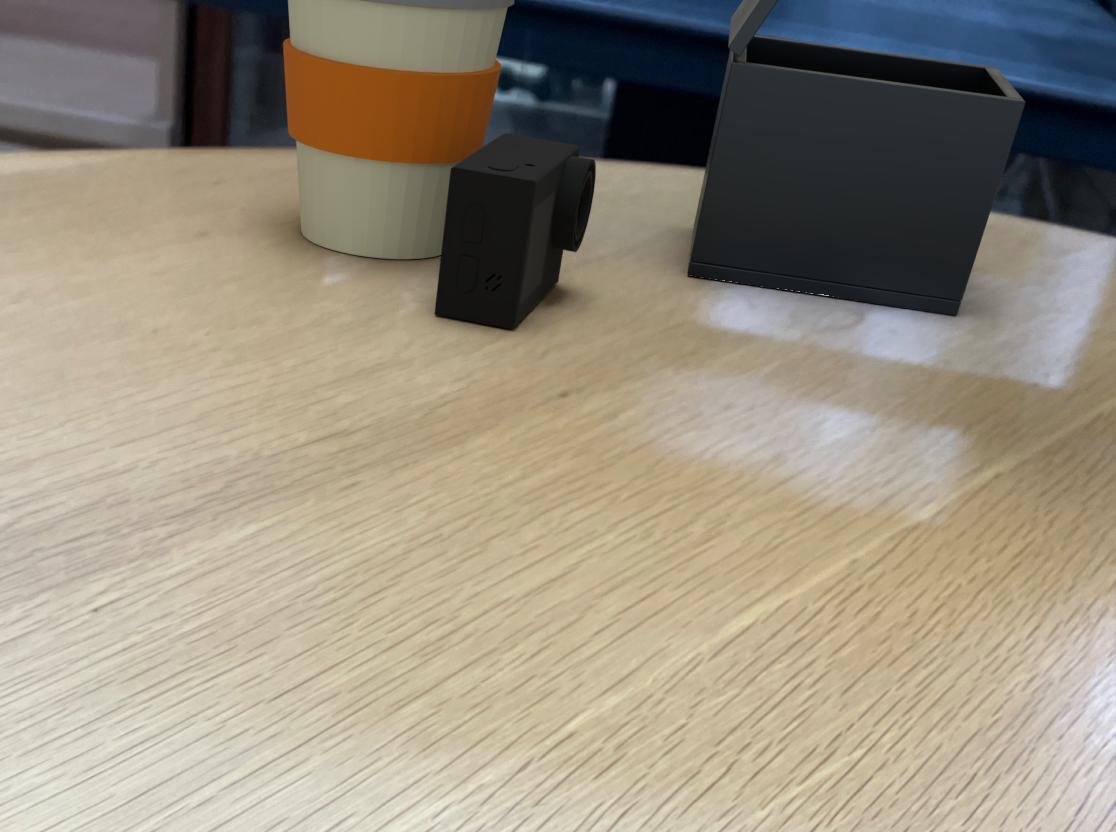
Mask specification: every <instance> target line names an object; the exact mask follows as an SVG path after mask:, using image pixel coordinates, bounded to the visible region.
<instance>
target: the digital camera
mask: <svg viewBox="0 0 1116 832" xmlns="http://www.w3.org/2000/svg"><path fill="white" fill-rule="evenodd" d="M579 154H580V146H579V144H572V143H568V142H567V143H566V142H560V141H554V140H548V139H542V138H536V137H530V136H523V135H520V134H513V133H503V134H500V135H499V136H498V137H496V138H494V139H492V140H491V141H489V142H488V143H486V144H484V145H483V147H482V148H480V149H479V150H477V151H476V152H474V153H473V154H471V155H470V156H468V157H467V158H465V159H464V160H462V161H461V162H459V163H458V164H457V165H455V166H454V167H452V168H451V172H450V180H449V188H448V197H447V206H446V215H445V224H444V233H443V242H442V251H441V255H440V260H439V261H440V262H439V270H438V278H437V289H436V297H435V307H434V315H435V316H439V317H440V316H441V317H445V318H446V317H447V318H451V319H452V318H453V319H457V320H462V321H467V322H473V323H477V324H478V323H479V324H481V325H482V324H484V325H488V326H493V327H498V328H504V329H508V330H509V329H510V330H512V329H514V328H515V327H516V326H517V325H518V324H519V323H521V322H522V321H523V320H524V319H525V317H526V316H528V314H529V313H530V312H531V311H532V310H533V309H534V308H535V307H536V306H537V305H538V304H539V303H540V302H541V300H542V299H543V298H544V297H546V296H547V294H548V293H549V292H550V291H551V290H552V289H553V288H554V287H555V286H556V285H557V284H558V283H559V280H560V274H561V267H562V262H563V255H564V251H567V252H572V253H577V252H578V251H579V249H580V247H581V245H582V242H583V239H584V238H585V235H586V234H585V233H586V231H587V227H588V224H589V219H590V215H591V211H592V205H593V199H594V194H595V187H596V177H597V171H596V170H597V165H596V161H595V159H594V158H589V157H587V158H586V157H581V156H580V155H579ZM579 156H580V157H579Z"/></svg>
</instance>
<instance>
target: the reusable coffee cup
mask: <svg viewBox="0 0 1116 832" xmlns="http://www.w3.org/2000/svg"><path fill="white" fill-rule="evenodd" d="M513 5H515V0H287V6H288V23H289V37H288V38H286V39H284V41H283V42H282V48H283V49H282V51H283V65H284V66H283V67H284V83H285V101H286V116H287V117H286V119H287V132H288V134H289V136H290V137H291V138H292V139H293V140H295V146H296V163H297V164H296V165H297V181H298V198H299V199H298V200H299V214H300V216H299V217H300V231H301V234H302V236H303V237H304V238H305V239H306V240H307V241H309V242H311V243H313V244H315V245H317V246H320V247H323V248H325V249H328V250H332V251H335V252H339V253H343V254H347V255H353V256H358V257H359V256H360V257H364V258H365V257H367V258H375V259H389V260H420V259H428V258H435V257H438V256H441V251H442V242H443V233H444V224H445V215H446V206H447V197H448V188H449V180H450V172H451V168H452V167H454V166H455V165H457V164H458V163H459V162H461V161H462V160H464V159H465V158H467V157H468V156H470V155H471V154H473V153H474V152H476V151H477V150H479V149H480V148H482V147H483V146H484V145H485V139H486V136H487V132H488V127H489V122H490V119H491V113H492V109H493V105H494V101H495V97H496V91H497V88H498V83H499V79H500V76H501V71H502V63H501V62H499V61H498V60H497V55H498V54H497V53H498V51H499V46H500V42H501V37H502V33H503V30H504V29H503V28H504V24H505V21H506V17H507V16H506V15H507V11H508V8H509V7H511V6H513Z"/></svg>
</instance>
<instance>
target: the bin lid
mask: <svg viewBox="0 0 1116 832" xmlns="http://www.w3.org/2000/svg"><path fill="white" fill-rule="evenodd" d="M778 2H779V0H742V2H741V3H740V4H739V5H738V7H737V9H736V11H734V13H733V15H732V16H731V18H730V24H729V36H728V45H727V48H728V49H729V51H730V50H731V51H733V52H734V53H735V54H736V55H737V56H739V57H740V56H741V54H742V53H743V51H744V50H745V48H746V47H747V45H748V44H749V42H750V41H751V40H752V38H753V37H754V35H756V34H757V32H758V31H759V30H760V28H761V27H762V25H763V23H764V22H765V21H766V19H767V18H768V16H769V15H770V13H771V12H772V10H773V9H774V8H775V6H776V4H777V3H778Z"/></svg>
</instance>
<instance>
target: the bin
mask: <svg viewBox="0 0 1116 832" xmlns="http://www.w3.org/2000/svg"><path fill="white" fill-rule="evenodd" d="M723 78H724V79H723V83H722V87H721V93H720V97H719V101H718V106H717V111H716V116H715V122H714V126H713V131H712V136H711V139H710V145H709V150H708V154H707V155H708V156H707V160H706V164H705V169H704V173H703V178H702V179H703V180H702V183H701V189H700V193H699V194H700V195H699V198H698V203H697V209H696V213H695V218H694V223H693V227H694V228H693V230H692V236H691V242H692V243H690V250H689V257H690V258H689V259H688V265H687V272H686V275H687V274H688V275H692V276H696V277H695V278H698V277H703V278H702V279H704V278H711V279H717V280H716V281H718V280H725V281H732V282H738V283H743V284H742V285H745V284H750V285H749V286H752V285H757V286H756V287H759V286H763V287H762V288H765V287H769V288H768V289H772V288H779V289H787V290H793V291H800V292H807V293H813V294H824V295H829V296H834V297H839V298H838V299H840V298H844V299H843V300H847V299H851V300H850V301H854V300H856V301H855V302H860V301H862V302H861V303H867V302H868V303H867V304H874V305H880V306H881V305H882V306H889V307H894V308H902V309H909V310H915V311H921V312H928V313H936V314H942V315H949V316H957V315H958V314H959V311H960V308H961V304H962V301H963V299H964V295H965V292H966V289H967V286H968V284H969V280H970V277H971V274H972V270H973V268H974V264H975V261H976V259H977V255H978V252H979V248H980V246H981V243H982V239H983V236H984V233H985V230H986V227H987V223H988V220H989V218H990V215H991V211H992V209H993V206H994V201H995V199H996V196H997V193H998V189H999V187H1000V183H1001V180H1002V177H1003V175H1004V171H1005V168H1006V165H1007V162H1008V158H1009V155H1010V152H1011V149H1012V145H1013V143H1014V140H1015V136H1016V134H1017V130H1018V127H1019V124H1020V120H1021V118H1022V115H1023V112H1024V108H1025V105H1026V101H1025V100H1024V98H1023V97H1022V95H1020V94H1019V92H1018V91H1017V90H1016V89H1015V88H1014V87H1013V85H1012V84H1011V83H1010V82H1009V81H1008V79H1007V78H1006V77H1005V76H1004V74H1003V73H1002V72H1001V71H1000V70H999V68H998V67H997V66H992V65H985V64H976V63H969V62H961V61H954V60H946V59H939V58H933V57H924V56H918V55H917V56H916V55H910V54H909V55H908V54H901V53H893V52H886V51H878V50H872V49H871V50H870V49H863V48H855V47H848V46H841V45H832V44H824V43H819V42H818V43H817V42H811V41H810V42H809V41H803V40H796V39H788V38H780V37H773V36H766V35H758V34H757V35H756V34H755V35H754V37H753V38H752V40H751V41H750V42H749V44H748V45H747V47H746V48H745V50H744V51H743V53H742V54H741V56H740V57H739V56H737V55H736V54H735V53H734V52H733V51H731V50H730V49H729V54H728V59H727V63H726V69H725V73H724V77H723ZM711 279H710V280H711ZM725 281H724V282H725ZM732 282H731V283H732ZM738 283H737V284H738ZM779 289H778V290H779ZM793 291H792V292H793ZM813 294H812V295H813Z"/></svg>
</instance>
